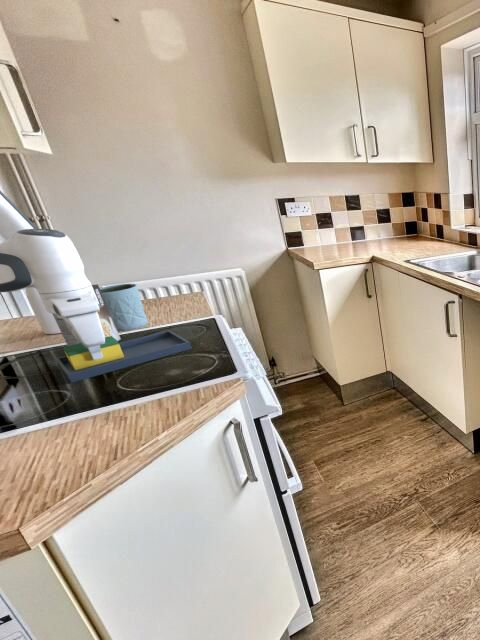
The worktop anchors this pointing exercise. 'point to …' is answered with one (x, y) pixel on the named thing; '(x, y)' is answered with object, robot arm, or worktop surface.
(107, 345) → the sponge
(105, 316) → the coffee box
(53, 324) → the milk bottle
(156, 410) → the worktop surface
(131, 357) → the tray
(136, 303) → the light blue textured cup
